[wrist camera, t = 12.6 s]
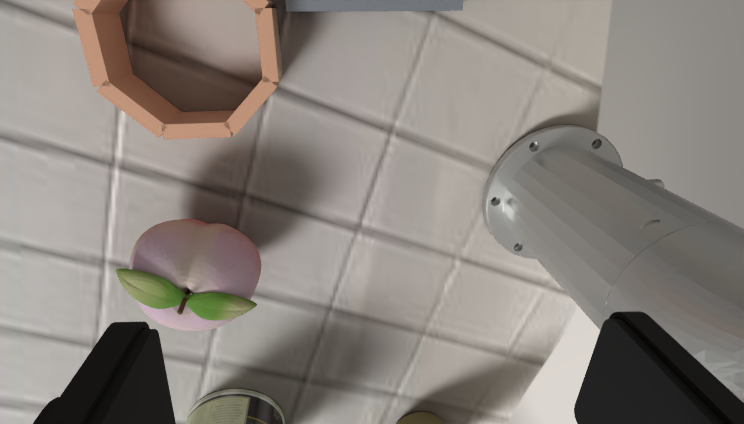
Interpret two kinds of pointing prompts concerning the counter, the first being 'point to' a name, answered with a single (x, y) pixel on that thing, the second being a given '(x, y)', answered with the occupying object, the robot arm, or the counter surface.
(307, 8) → the slate tray
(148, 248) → the decorative fruit
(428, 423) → the squeeze bottle
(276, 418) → the coffee can
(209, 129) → the terracotta ring
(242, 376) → the counter surface
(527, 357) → the counter surface
